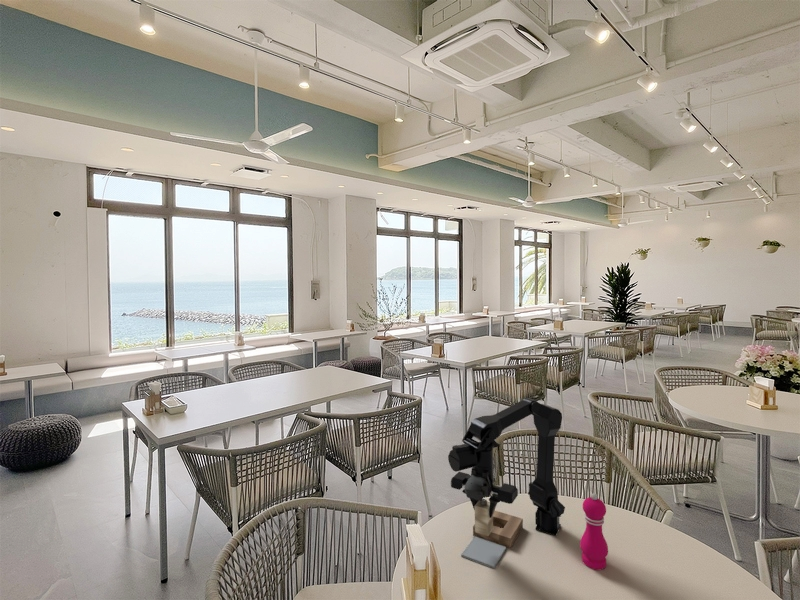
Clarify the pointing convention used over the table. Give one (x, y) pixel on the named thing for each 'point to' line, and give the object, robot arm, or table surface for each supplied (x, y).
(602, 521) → the pepper mill
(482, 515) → the plug
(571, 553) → the table surface
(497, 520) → the socket block
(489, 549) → the mat
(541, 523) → the robot arm
